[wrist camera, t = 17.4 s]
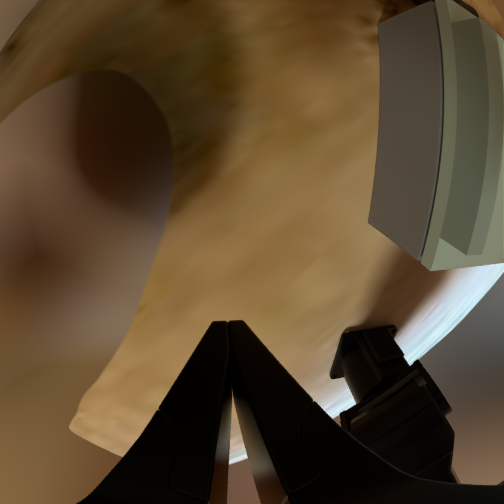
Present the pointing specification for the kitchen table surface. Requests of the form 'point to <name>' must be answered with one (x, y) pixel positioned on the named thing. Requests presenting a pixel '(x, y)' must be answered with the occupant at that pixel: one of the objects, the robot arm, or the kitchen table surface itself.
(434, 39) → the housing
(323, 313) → the kitchen table surface
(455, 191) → the lid
